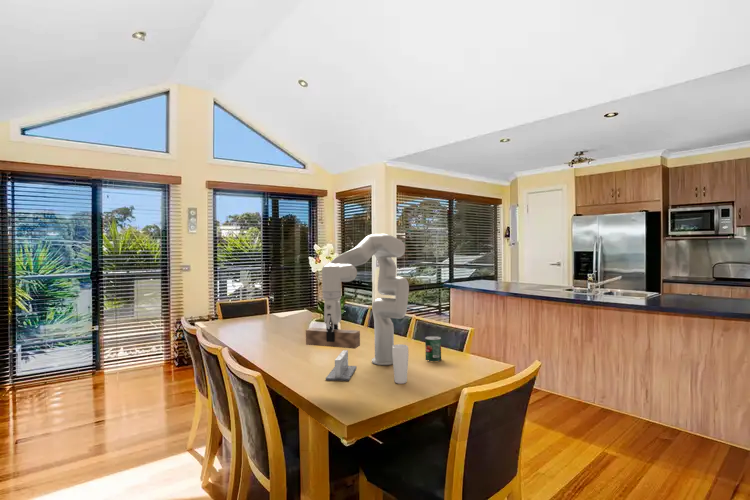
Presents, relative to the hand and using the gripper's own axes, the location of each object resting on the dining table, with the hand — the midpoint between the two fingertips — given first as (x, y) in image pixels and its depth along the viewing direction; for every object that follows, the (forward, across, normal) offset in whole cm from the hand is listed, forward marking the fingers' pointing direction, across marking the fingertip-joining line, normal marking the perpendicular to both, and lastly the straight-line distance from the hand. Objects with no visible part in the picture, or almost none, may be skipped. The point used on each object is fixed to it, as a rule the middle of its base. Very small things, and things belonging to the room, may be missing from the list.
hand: (332, 339), depth 157 cm
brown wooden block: (+2, 0, 0) cm, 2 cm away
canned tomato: (+20, +42, -41) cm, 62 cm away
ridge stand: (+19, +16, 0) cm, 25 cm away
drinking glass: (+20, +8, -27) cm, 34 cm away
